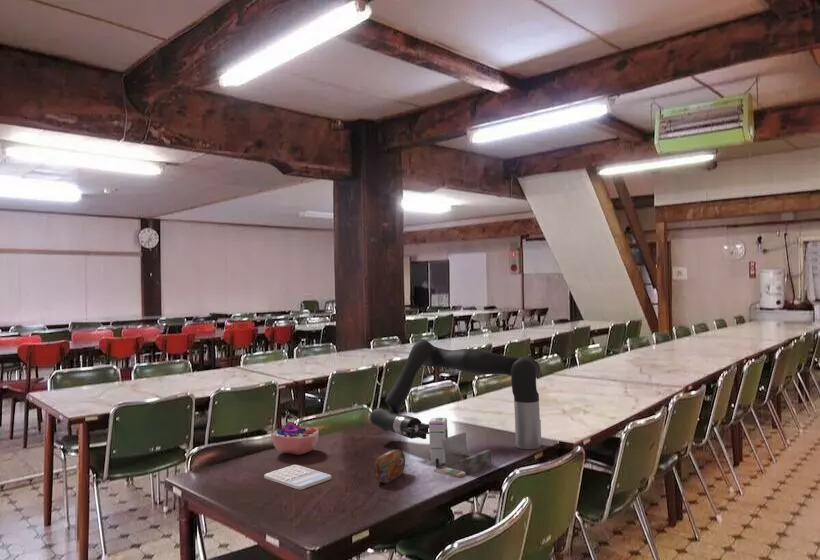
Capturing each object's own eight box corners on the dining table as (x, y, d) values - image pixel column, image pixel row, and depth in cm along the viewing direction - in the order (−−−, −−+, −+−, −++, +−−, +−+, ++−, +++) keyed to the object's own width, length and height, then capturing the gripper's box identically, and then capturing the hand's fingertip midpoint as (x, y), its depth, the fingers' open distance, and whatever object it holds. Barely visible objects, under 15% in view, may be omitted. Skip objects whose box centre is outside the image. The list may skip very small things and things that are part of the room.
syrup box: (446, 463, 198) (445, 421, 198) (430, 462, 199) (428, 421, 200) (449, 458, 204) (447, 417, 204) (432, 457, 205) (431, 417, 205)
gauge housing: (466, 458, 203) (466, 444, 203) (493, 464, 195) (492, 449, 195) (433, 471, 190) (433, 456, 190) (461, 478, 182) (460, 462, 182)
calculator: (295, 468, 200) (295, 463, 200) (333, 480, 186) (332, 474, 186) (262, 479, 190) (262, 473, 190) (300, 492, 176) (299, 485, 177)
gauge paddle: (464, 457, 202) (463, 432, 202) (466, 458, 201) (466, 432, 201) (435, 469, 190) (434, 442, 190) (437, 469, 189) (436, 442, 189)
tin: (381, 486, 177) (380, 459, 177) (372, 485, 179) (371, 458, 179) (406, 472, 190) (405, 447, 190) (398, 471, 192) (397, 445, 192)
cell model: (289, 464, 204) (288, 432, 204) (263, 453, 219) (262, 423, 219) (329, 453, 215) (328, 423, 215) (302, 443, 230) (301, 415, 230)
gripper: (391, 419, 212) (418, 426, 199) (421, 413, 221) (449, 419, 208) (392, 439, 212) (419, 448, 199) (422, 432, 221) (450, 440, 208)
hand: (434, 433), depth 203 cm, fingers open, 8 cm apart
